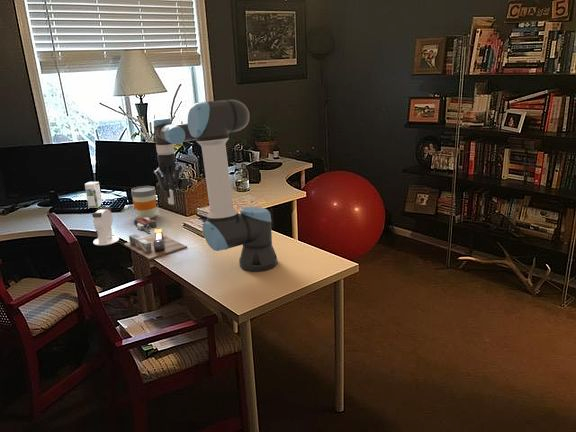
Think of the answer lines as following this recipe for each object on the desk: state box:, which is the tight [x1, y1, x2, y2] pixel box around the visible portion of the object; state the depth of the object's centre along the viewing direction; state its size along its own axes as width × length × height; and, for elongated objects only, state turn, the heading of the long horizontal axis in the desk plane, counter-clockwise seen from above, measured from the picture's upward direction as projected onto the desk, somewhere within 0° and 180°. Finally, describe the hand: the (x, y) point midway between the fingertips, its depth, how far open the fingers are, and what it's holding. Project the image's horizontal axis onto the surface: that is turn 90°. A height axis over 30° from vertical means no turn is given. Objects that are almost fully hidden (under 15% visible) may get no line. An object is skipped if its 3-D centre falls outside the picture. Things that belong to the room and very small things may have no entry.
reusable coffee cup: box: [130, 185, 157, 219], centre depth 255 cm, size 13×13×15 cm
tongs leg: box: [153, 228, 165, 252], centre depth 216 cm, size 20×4×4 cm, turn 15°
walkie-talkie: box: [133, 216, 157, 233], centre depth 241 cm, size 9×4×20 cm
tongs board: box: [123, 233, 188, 261], centre depth 215 cm, size 24×18×4 cm
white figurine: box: [91, 206, 120, 246], centre depth 223 cm, size 12×11×15 cm
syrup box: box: [84, 181, 103, 209], centre depth 274 cm, size 6×6×14 cm
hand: (171, 203), depth 224 cm, fingers closed
